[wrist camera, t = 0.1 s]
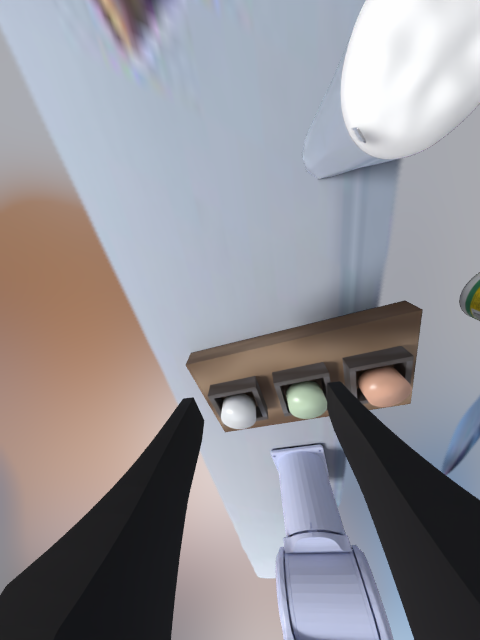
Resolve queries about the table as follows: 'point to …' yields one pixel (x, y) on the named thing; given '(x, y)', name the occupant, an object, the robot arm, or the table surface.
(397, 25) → the milkshake
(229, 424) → the grey button
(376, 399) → the terracotta button
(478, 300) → the supplement bottle
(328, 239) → the table surface
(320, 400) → the sage button
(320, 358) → the button board
